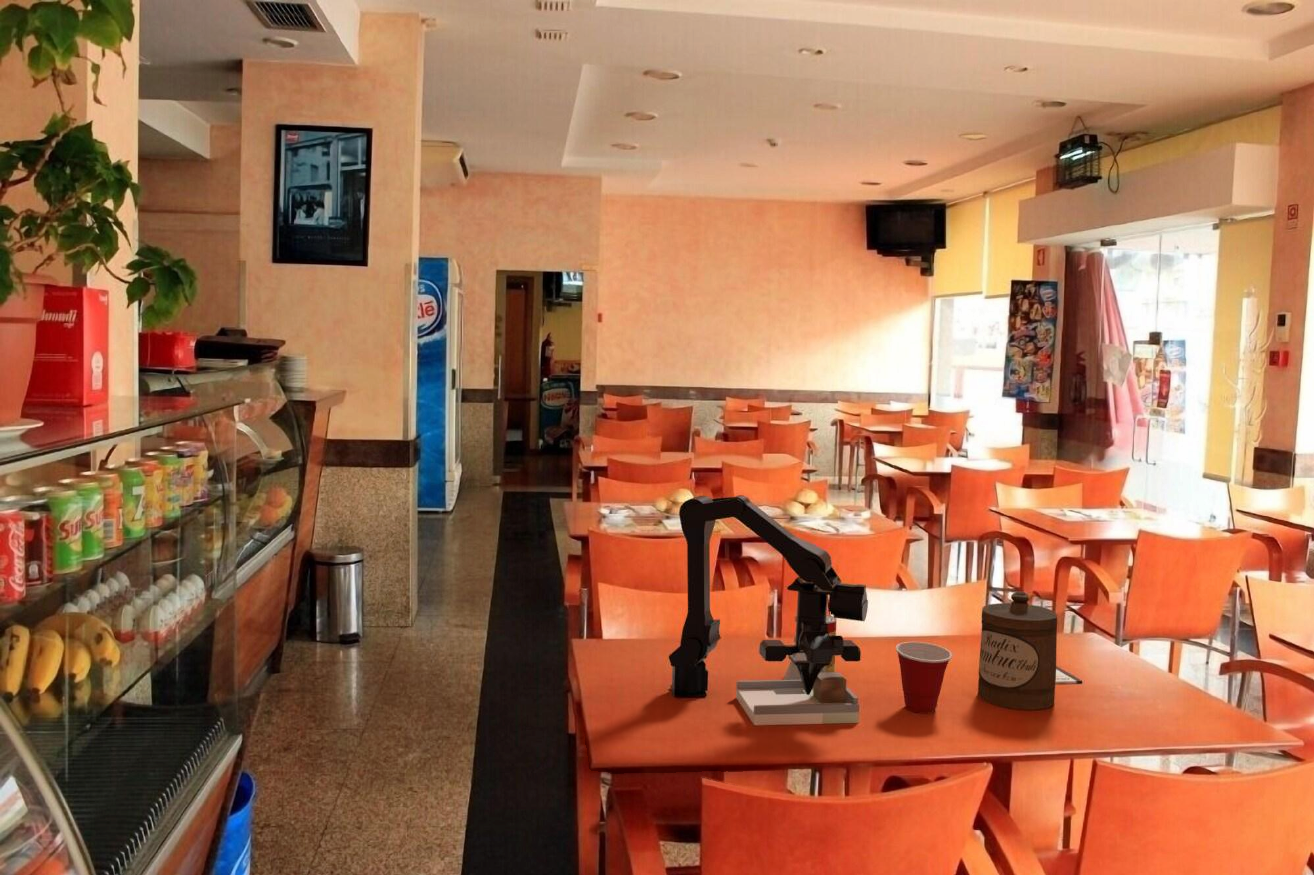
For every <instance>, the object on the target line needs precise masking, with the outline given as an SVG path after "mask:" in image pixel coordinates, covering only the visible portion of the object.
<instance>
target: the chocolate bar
mask: <svg viewBox="0 0 1314 875" xmlns="http://www.w3.org/2000/svg"><path fill="white" fill-rule="evenodd" d="M1068 684H1069V685H1071V684H1072V685H1074V684H1076V685H1077V684H1083V680H1082V679H1079V677H1076V676H1074V675H1073V674H1072V673H1070V672H1068V671H1066V670H1065V669H1062V668H1061V667H1059V666H1057V665H1056V682H1055V685H1068Z"/></svg>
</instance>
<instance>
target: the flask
mask: <svg viewBox="0 0 1314 875" xmlns="http://www.w3.org/2000/svg"><path fill="white" fill-rule="evenodd" d="M794 637H796V633H795V634H794ZM800 651H804V650H800ZM783 680H801V677H800V674H799V671H798V669H797V666H796V665H794V664H793V662H792V661H791V660H790V662H789V664H788V667H787V670H786V671H785V675H784V677H783Z"/></svg>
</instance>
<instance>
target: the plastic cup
mask: <svg viewBox="0 0 1314 875" xmlns="http://www.w3.org/2000/svg"><path fill="white" fill-rule="evenodd" d="M895 651H896V652H897V657H898V661H899V662H898V663H899V668H900V677H901V678H900V679H901V686H902V692H903V699H904V705H905V709H907V710H908V711H910V712H914V713H919V714H930V713H933V712H935V711H936V709H937V707H938V706H937V705H938V702H939V696H940V693H941V691H942V686H943V681H944V676H945V672H946V670H947V667H948V664H949V661H950V660H951V659H952V657H953V653H952V652H951V650H949V649H947V648H946V647H943V646H940V645H938V644H935V643H929V642H923V641H905V642H901V643H898V644H896V646H895Z"/></svg>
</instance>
